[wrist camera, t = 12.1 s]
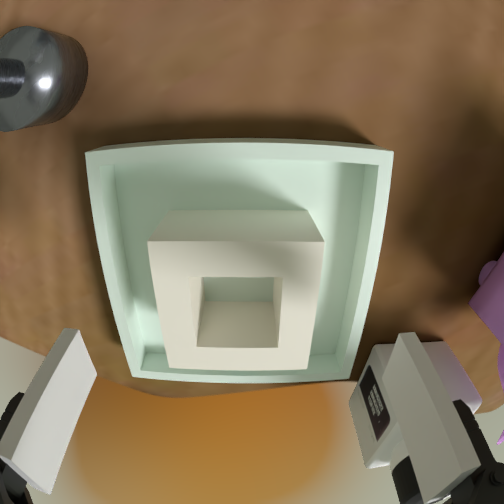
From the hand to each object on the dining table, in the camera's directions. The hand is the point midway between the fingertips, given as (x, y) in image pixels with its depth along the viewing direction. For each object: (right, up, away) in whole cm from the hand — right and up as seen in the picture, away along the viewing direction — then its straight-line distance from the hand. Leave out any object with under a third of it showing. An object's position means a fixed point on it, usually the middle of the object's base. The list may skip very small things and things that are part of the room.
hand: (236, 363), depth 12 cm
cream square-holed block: (0, +3, +8) cm, 8 cm away
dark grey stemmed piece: (-12, +15, +3) cm, 20 cm away
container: (+14, -6, +13) cm, 20 cm away
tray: (0, +3, +8) cm, 9 cm away
